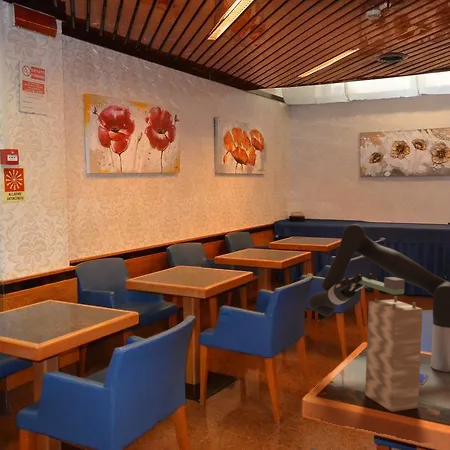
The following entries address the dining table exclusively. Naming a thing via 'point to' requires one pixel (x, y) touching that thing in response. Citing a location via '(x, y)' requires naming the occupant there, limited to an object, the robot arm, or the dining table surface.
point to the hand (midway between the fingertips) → (366, 276)
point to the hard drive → (422, 378)
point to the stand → (393, 354)
